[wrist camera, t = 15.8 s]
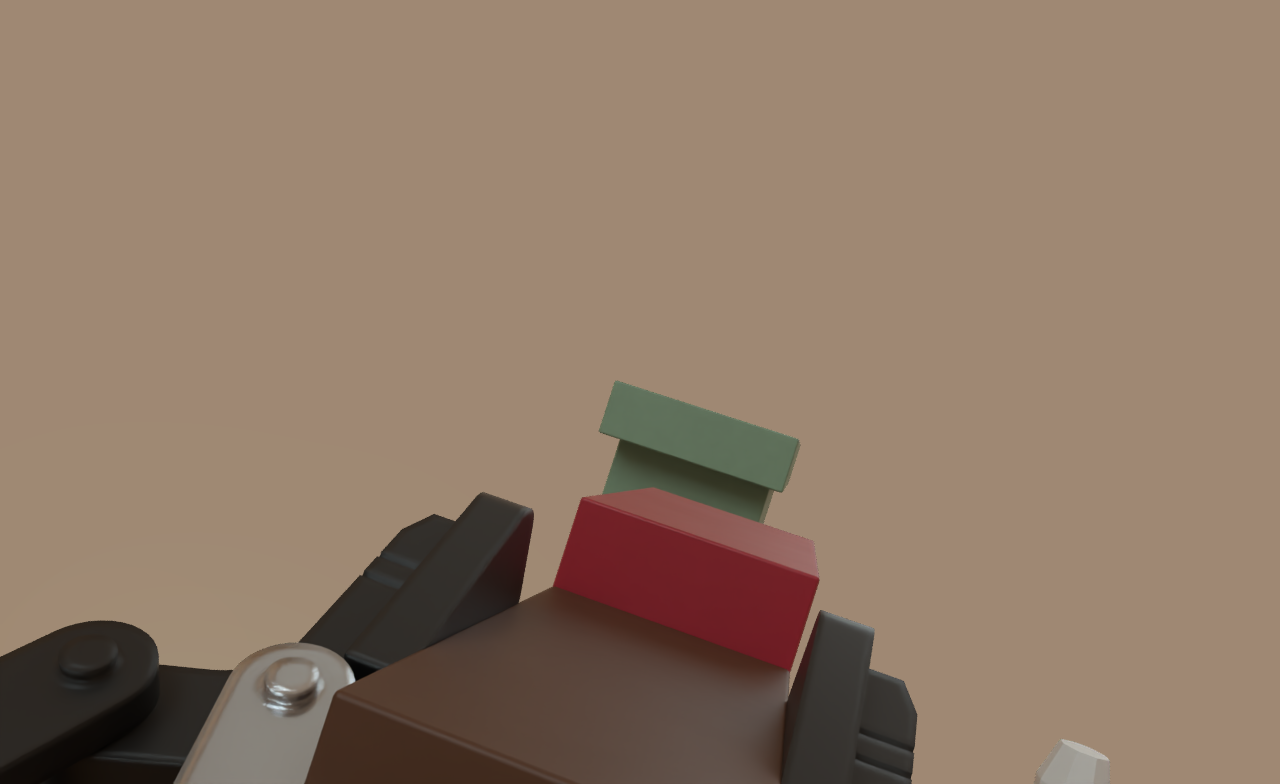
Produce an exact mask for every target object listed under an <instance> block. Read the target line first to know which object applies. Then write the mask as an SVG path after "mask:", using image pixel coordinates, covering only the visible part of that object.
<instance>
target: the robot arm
mask: <svg viewBox="0 0 1280 784" xmlns="http://www.w3.org/2000/svg"><path fill="white" fill-rule="evenodd" d="M533 520H534V513H533V510H532V509H530V508H528V507H525V506H522V505H519V504H516V503H513V502H510V501H508V500H505V499H502V498H499V497H496V496H493V495H490V494H487V493H484V492H482V493H480V494H479V495H478V496H477V497H476V498H475V499H474V500H473V501H472V502H471V504H470V505H469V506H468V507H467V508H466V510H465V511H464V512H463V513H462V514H461V515H460V517H459V518H458V519H457V520H456V521H453V520H450V519H447V518H444V517H441V516H438V515H435V514H433V515H431V516H429V517H427V518H425V519H423V520H421V521H419V522H416V523H414V524H412V525H410V526H408V527H406V528H404V529H402V530H401V531H400V532H399V533H398V534H397V536H396V537H395V538H394V539H393V540H392V541H391V542H390V543H389V544H388V546H387V547H385V549H384V550H383V551H382V552H381V555H380V557H376V558H375V559H374V561H373V562H372V563H371V564H370V565H369V566H368V567H367V568H366V569H365V570H364V573H363V575H362V576H361V575H360V576H359V577H358V578H357V579H356V580H355V581H354V582H353V583H352V584H351V586H350V587H349V588H348V589H347V590H346V591H345V592H344V593H343V594H342V595H341V597H340V598H339V599H338V600H337V601H336V602H335V603H334V604H333V605H332V606H331V607H330V608H329V610H328V611H327V612H326V613H325V614H324V615H323V616H322V617H321V618H320V619H319V621H318V622H317V623H316V624H315V625H314V626H313V627H312V628H311V629H310V630H309V631H308V633H307V634H306V635H305V636H304V637H303V638H302V639H301V640H300V641H299V642H298V643H285V644H278V645H274V646H270V647H267V648H265V649H262V650H259V651H257V652H255V653H253V654H252V655H250V656H248V657H247V658H245V659H244V660H243V661H242V662H240V663H239V665H237V667H236V668H235V669H234V670H208V669H197V668H187V667H178V666H168V665H159V656H158V650H157V646H156V644H155V642H154V640H153V639H152V638H151V637H150V636H149V635H148V634H147V633H145V632H144V631H143V630H141V629H139V628H137V627H135V626H133V625H130V624H126V623H123V622H116V621H88V622H83V623H78V624H74V625H70V626H67V627H64V628H62V629H59V630H57V631H54V632H52V633H50V634H48V635H46V636H44V637H41V638H39V639H37V640H35V641H33V642H32V643H29V644H27V645H25V646H22V647H20V648H18V649H16V650H14V651H12V652H10V653H8V654H6V655H3V656H1V657H0V784H304V783H305V780H306V777H307V774H308V771H309V768H310V765H311V762H312V759H313V756H314V753H315V750H316V747H317V743H318V740H319V737H320V734H321V731H322V728H323V725H324V722H325V719H326V716H327V713H328V710H329V707H330V704H331V701H332V698H333V695H334V694H335V692H336V691H337V690H339V689H341V688H343V687H345V686H347V685H349V684H351V683H353V682H356V681H358V680H360V679H362V678H364V677H366V676H368V675H370V674H372V673H374V672H376V671H378V670H380V669H383V668H385V667H387V666H389V665H391V664H393V663H395V662H397V661H399V660H401V659H403V658H405V657H407V656H410V655H412V654H414V653H416V652H418V651H420V650H422V649H425V648H427V647H429V646H431V645H433V644H436V643H438V642H440V641H442V640H444V639H446V638H448V637H450V636H452V635H454V634H456V633H458V632H460V631H462V630H465V629H467V628H469V627H471V626H473V625H475V624H477V623H479V622H481V621H483V620H485V619H487V618H489V617H491V616H494V615H496V614H498V613H500V612H502V611H504V610H506V609H508V608H510V607H512V606H514V605H516V604H518V603H519V599H520V595H521V589H522V584H523V577H524V572H525V567H526V561H527V555H528V550H529V544H530V538H531V533H532V527H533ZM873 640H874V628H871V627H869V626H866V625H863V624H860V623H857V622H854V621H851V620H848V619H845V618H843V617H839V616H837V615H834V614H831V613H828V612H825V611H822V610H820V612H819V614H818V616H817V619H816V621H815V624H814V627H813V630H812V633H811V635H810V638H809V641H808V644H807V647H806V650H805V652H804V655H803V658H802V661H801V663H800V666H799V669H798V672H797V675H796V677H795V680H794V683H793V686H792V689H791V692H790V694H789V697H788V700H787V708H786V722H785V735H784V749H783V762H782V776H781V784H911V782H912V780H911V775H912V769H913V759H914V753H913V750H914V747H915V735H916V724H917V713H916V710H915V708H914V705H913V703H912V700H911V698H910V695H909V693H908V691H907V688H906V686H905V683H904V681H902V680H899V679H897V678H894V677H891V676H888V675H886V674H882V673H880V672H877V671H874V670H871V669H869V666H870V659H871V652H872V646H873Z"/></svg>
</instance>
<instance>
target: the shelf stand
mask: <svg viewBox="0 0 1280 784" xmlns="http://www.w3.org/2000/svg"><path fill="white" fill-rule="evenodd" d="M599 432H600V433H603V434H606V435H609V436H612V437H615V438H618V439H620V441H619V444H618V447H617V450H616V454H615V457H614V460H613V463H612V466H611V469H610V472H609V475H608V479H607V481H606V485H605V488H604V491H603V494H610V493H617V492H624V491H631V490H638V489H645V488H652V487H654V488H657V489H660V490H663V491H666V492H669V493H672V494H675V495H678V496H681V497H684V498H687V499H690V500H693V501H696V502H699V503H702V504H705V505H708V506H711V507H714V508H717V509H720V510H723V511H726V512H729V513H732V514H735V515H738V516H741V517H744V518H747V519H750V520H753V521H756V522H759V523H762V524H763V523H764V520H765V517H766V514H767V511H768V508H769V504H770V502H771V498H772V495H773V492H774V491H777V492H783V490H784V489H785V487H786V486H787V484H788V482H789V479H790V476H791V473H792V470H793V467H794V464H795V461H796V457H797V454H798V451H799V448H800V442H799V440H798V439H796V438H793V437H790V436H787V435H784V434H781V433H778V432H775V431H772V430H768V429H765V428H762V427H759V426H756V425H753V424H750V423H747V422H743V421H741V420H737V419H734V418H731V417H728V416H725V415H722V414H719V413H716V412H713V411H709V410H706V409H703V408H700V407H697V406H694V405H691V404H688V403H685V402H681V401H679V400H675V399H672V398H669V397H666V396H663V395H660V394H657V393H654V392H650V391H647V390H644V389H641V388H638V387H635V386H632V385H629V384H626V383H623V382H620V381H615V383H614V386H613V389H612V392H611V395H610V398H609V401H608V405H607V407H606V410H605V414H604V417H603V420H602V423H601V426H600V429H599ZM603 494H602V495H603Z"/></svg>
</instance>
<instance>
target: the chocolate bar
mask: <svg viewBox="0 0 1280 784" xmlns="http://www.w3.org/2000/svg"><path fill="white" fill-rule="evenodd" d="M818 584H819V573H818V567H817V559H816V553H815V546H814V542H813V541H812V540H809V539H806V538H803V537H800V536H797V535H794V534H791V533H788V532H785V531H782V530H779V529H776V528H773V527H770V526H767V525H764V524H762V523H759V522H756V521H753V520H750V519H747V518H744V517H741V516H738V515H735V514H732V513H729V512H726V511H723V510H720V509H717V508H714V507H711V506H708V505H705V504H702V503H699V502H696V501H693V500H690V499H687V498H684V497H681V496H678V495H675V494H672V493H669V492H666V491H663V490H660V489H657V488H654V487H652V488H645V489H638V490H631V491H624V492H617V493H610V494H603V495H596V496H589V497H582V499H581V501H580V504H579V507H578V510H577V513H576V516H575V519H574V523H573V525H572V529H571V532H570V535H569V538H568V541H567V544H566V547H565V550H564V553H563V557H562V559H561V563H560V566H559V569H558V572H557V575H556V578H555V581H554V584H553V587H551V588H549V589H547V590H545V591H543V592H541V593H539V594H536V595H534V596H532V597H530V598H528V599H526V600H524V601H522V602H520V603H518V604H516V605H514V606H512V607H510V608H508V609H506V610H504V611H502V612H500V613H498V614H496V615H494V616H491V617H489V618H487V619H485V620H483V621H481V622H479V623H477V624H475V625H473V626H471V627H469V628H467V629H465V630H462V631H460V632H458V633H456V634H454V635H452V636H450V637H448V638H446V639H444V640H442V641H440V642H438V643H436V644H433V645H431V646H429V647H427V648H425V649H422V650H420V651H418V652H416V653H414V654H412V655H410V656H407V657H405V658H403V659H401V660H399V661H397V662H395V663H393V664H391V665H389V666H387V667H385V668H383V669H380V670H378V671H376V672H374V673H372V674H370V675H368V676H366V677H364V678H362V679H360V680H358V681H356V682H353V683H351V684H349V685H347V686H345V687H343V688H341V689H339V690H337V691H336V692H335V694H334V695H333V698H332V701H331V704H330V707H329V710H328V713H327V716H326V719H325V722H324V725H323V728H322V731H321V734H320V737H319V740H318V743H317V747H316V750H315V753H314V756H313V759H312V762H311V765H310V768H309V771H308V774H307V777H306V780H305V783H304V784H781V776H782V762H783V749H784V735H785V722H786V708H787V700H788V693H789V678H790V671H791V668H792V665H793V662H794V659H795V656H796V653H797V649H798V646H799V643H800V640H801V637H802V634H803V631H804V627H805V624H806V621H807V618H808V615H809V612H810V608H811V606H812V602H813V599H814V596H815V593H816V590H817V586H818Z"/></svg>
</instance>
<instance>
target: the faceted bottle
mask: <svg viewBox="0 0 1280 784" xmlns="http://www.w3.org/2000/svg"><path fill="white" fill-rule="evenodd" d="M1034 784H1110V761H1109V759H1108V758H1107V757H1106V756H1105V755H1103V754H1101V753H1099V752H1097V751H1095V750H1093V749H1092V748H1089V747H1086V746H1084V745H1081V744H1078V743H1075V742H1072V741H1068V740H1063V739H1060V740H1059V741H1058V743H1057V744H1056V746H1055V747H1054V748H1053V750H1052V751H1051V753H1050V754H1049V755H1048V757H1047V758H1046V759H1045V761H1044V762H1043V764H1042V765H1041V766H1040V768H1039V769H1038V770H1037V772H1036V776H1035V781H1034Z"/></svg>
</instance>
